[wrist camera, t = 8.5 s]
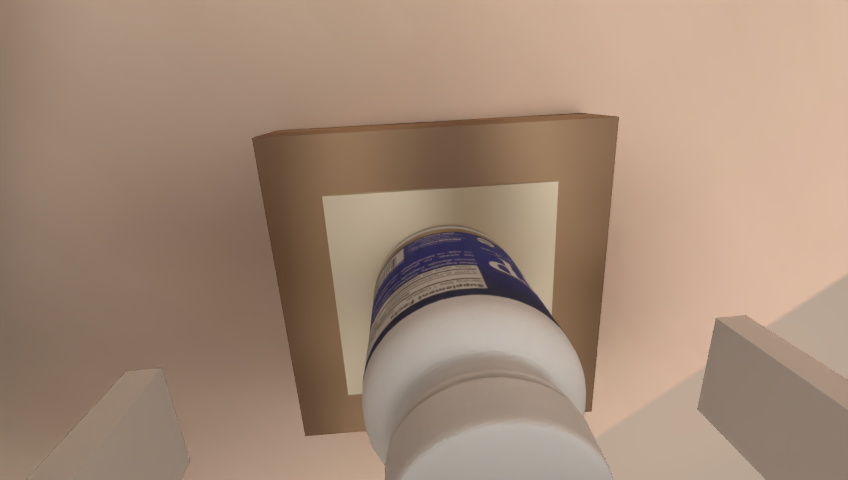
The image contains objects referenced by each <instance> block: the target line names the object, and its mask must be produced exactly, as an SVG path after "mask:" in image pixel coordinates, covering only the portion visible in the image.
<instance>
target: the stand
mask: <svg viewBox="0 0 848 480" xmlns="http://www.w3.org/2000/svg"><path fill="white" fill-rule="evenodd" d="M618 121H619V117H616V116H606V115H596V114H586V113H575V114H557V115H540V116H522V117H505V118H488V119H470V120H453V121H436V122H418V123H401V124H384V125H366V126H349V127H332V128H314V129H297V130H280V131H274V132H271V133H267V134H264V135H261V136H257V137H254V138H252V141H253V146H254V152H255V158H256V163H257V169H258V174H259V180H260V186H261V191H262V197H263V202H264V208H265V213H266V219H267V225H268V230H269V236H270V241H271V247H272V253H273V258H274V264H275V269H276V275H277V280H278V286H279V292H280V297H281V303H282V308H283V314H284V320H285V325H286V331H287V336H288V342H289V347H290V353H291V359H292V364H293V370H294V375H295V381H296V387H297V392H298V398H299V403H300V409H301V414H302V420H303V426H304V431H305V436H311V435H323V434H335V433H346V432H358V431H366V427H365V423H364V417H363V409H362V390H363V376H364V370H365V363H366V355H367V347H368V341H369V334H370V325H371V316H372V306H373V297H374V289H375V284H376V280H377V277H378V274H379V271H380V269H381V267H382V265H383V263H384V262H385V260H386V259H387V257H388V256H389V255H390V253H391V252H392V251H393V250H394V249H395V248H396V247H397V246H398V245H399V244H401V243H402V242H403V241H405V240H406V239H407V238H409V237H411V236H413V235H415V234H417V233H419V232H421V231H424V230H427V229H431V228H436V227H443V226H457V227H464V228H469V229H472V230H475V231H478V232H480V233H482V234H485V235H486V236H488V237H490V238H491V239H493V240H494V241H495V242H497V243H498V244H499V245H500V246H501V247H502V248H503V249H504V250H505V251H506V252H507V253H508V255H509V256H510V257H511V259H512V260H513V262H514V263H515V264H516V266H517V267H518V269H519V270H520V272H521V273H522V274H523V276H524V277H525V279H526V280H527V281H528V283H529V284H530V286H531V287H532V289H533V290H534V291H535V293H536V294H537V295H538V297H539V298H540V300H541V301H542V302H543V304H544V305H545V307H546V308H547V309H548V311H549V312H550V314H551V315H552V317H553V318H554V319H555V321H556V322H557V323H558V325H559V326H560V327H561V329H562V330H563V332H564V333H565V335H566V336H567V338H568V339H569V341H570V343H571V344H572V346H573V348H574V350H575V351H576V353H577V355H578V358H579V360H580V363H581V366H582V369H583V373H584V377H585V386H586V404H585V412H590V411H591V410H592V399H593V389H594V378H595V367H596V357H597V346H598V335H599V324H600V314H601V303H602V292H603V282H604V271H605V260H606V249H607V239H608V228H609V217H610V207H611V196H612V185H613V174H614V164H615V153H616V142H617V131H618Z"/></svg>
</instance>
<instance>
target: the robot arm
mask: <svg viewBox="0 0 848 480" xmlns="http://www.w3.org/2000/svg"><path fill="white" fill-rule="evenodd" d="M697 409H698V410H699V411H700V412H701V413H702V414H703V415H704V416H705V417H706V418H707V419H708V420H709V422H710V423H711V424H713V426H714V427H715V428H716V429H717V430H718V431H719V432H720V433H721V434H722V435H723V436H724V437H725V438H726V439H727V440H728V441H729V442H730V443H731V444H732V445H733V446H734V447H735V448H736V449H737V450H738V451H739V453H741V455H742V456H743V457H744V458H745V459H746V460H747V461H748V462H749V463H750V464H751V465H752V466H753V467H754V468H755V469H756V470H757V471H758V472H759V473H760V474H761V475H762V476H763V477H764V478H765V479H766V480H848V379H846V378H844V377H843V376H841V375H840V374H838V373H836V372H835V371H833V370H832V369H830V368H828V367H827V366H825V365H824V364H822V363H820V362H819V361H817V360H816V359H814V358H813V357H811V356H809V355H808V354H806V353H804V352H803V351H801V350H800V349H798V348H797V347H795V346H794V345H792V344H790V343H789V342H787V341H786V340H784V339H783V338H781V337H779V336H778V335H776V334H775V333H773V332H771V331H770V330H768V329H767V328H765V327H764V326H762V325H760V324H759V323H757V322H756V321H754V320H752V319H751V318H749V317H748V316H746V315H744V316H733V317H722V318H716V321H715V325H714V330H713V335H712V340H711V345H710V350H709V355H708V360H707V365H706V369H705V374H704V379H703V384H702V389H701V394H700V399H699V404H698V408H697ZM189 463H190V458H189V455H188V452H187V449H186V445H185V442H184V439H183V436H182V432H181V429H180V426H179V423H178V420H177V416H176V413H175V410H174V407H173V403H172V400H171V397H170V394H169V390H168V387H167V384H166V381H165V377H164V374H163V371H162V368H155V369H144V370H133V371H126V372H125V373H124V374H123V375H122V376H121V378H120V379H119V380H118V381H117V382H116V383H115V384H114V385H113V386H112V387H111V388H110V389H109V391H108V392H107V393H106V394H105V395H104V396H103V397H102V398H101V399H100V400H99V401H98V402H97V404H96V405H95V406H94V407H93V408H92V409H91V410H90V411H89V412H88V413H87V414H86V415H85V416H84V418H83V419H82V420H81V421H80V422H79V423H78V424H77V425H76V426H75V427H74V428H73V429H72V431H71V432H70V433H69V434H68V435H67V436H66V437H65V438H64V439H63V440H62V441H61V442H60V444H59V445H58V446H57V447H56V448H55V449H54V450H53V451H52V452H51V453H50V454H49V455H48V457H47V458H46V459H45V460H44V461H43V462H42V463H41V464H40V465H39V466H38V467H37V468H36V470H35V471H34V472H33V473H32V474H31V475H30V476H29V477H28V478H27V479H26V480H181V478H182V476H183V474H184V472H185V470H186V469H187V467H188V465H189Z"/></svg>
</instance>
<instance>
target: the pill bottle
mask: <svg viewBox="0 0 848 480" xmlns="http://www.w3.org/2000/svg"><path fill="white" fill-rule="evenodd" d="M585 404H586V386H585V377H584V373H583V369H582V366H581V363H580V360H579V358H578V355H577V353H576V351H575V350H574V348H573V346H572V344H571V343H570V341H569V339H568V338H567V336H566V335H565V333H564V332H563V330H562V329H561V327H560V326H559V325H558V323H557V322H556V321H555V319H554V318H553V317H552V315H551V314H550V312H549V311H548V309H547V308H546V307H545V305H544V304H543V302H542V301H541V300H540V298H539V297H538V295H537V294H536V293H535V291H534V290H533V289H532V287H531V286H530V284H529V283H528V281H527V280H526V279H525V277H524V276H523V274H522V273H521V272H520V270H519V269H518V267H517V266H516V264H515V263H514V262H513V260H512V259H511V257H510V256H509V255H508V253H507V252H506V251H505V250H504V249H503V248H502V247H501V246H500V245H499V244H498V243H497V242H495V241H494V240H493V239H491V238H490V237H488V236H486V235H485V234H482V233H480V232H478V231H475V230H472V229H469V228H464V227H457V226H443V227H436V228H431V229H427V230H424V231H421V232H419V233H417V234H415V235H413V236H411V237H409V238H407V239H406V240H405V241H403V242H402V243H401V244H399V245H398V246H397V247H396V248H395V249H394V250H393V251H392V252H391V253H390V255H389V256H388V257H387V259H386V260H385V262H384V263H383V265H382V267H381V269H380V271H379V274H378V277H377V280H376V284H375V289H374V297H373V306H372V316H371V325H370V334H369V341H368V347H367V355H366V363H365V370H364V376H363V390H362V409H363V417H364V423H365V427H366V431H367V434H368V437H369V439H370V442H371V444H372V446H373V448H374V450H375V451H376V453H377V455H378V456H379V457H380V459H381V460H382V462H383V463H384V464H385V480H613V477H612V474H611V471H610V468H609V465H608V463H607V461H606V459H605V457H604V456H603V453H602V452H601V450H600V448H599V446H598V444H597V442H596V440H595V438H594V436H593V434H592V432H591V430H590V428H589V426H588V424H587V422H586V420H585V419H584V412H585Z"/></svg>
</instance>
